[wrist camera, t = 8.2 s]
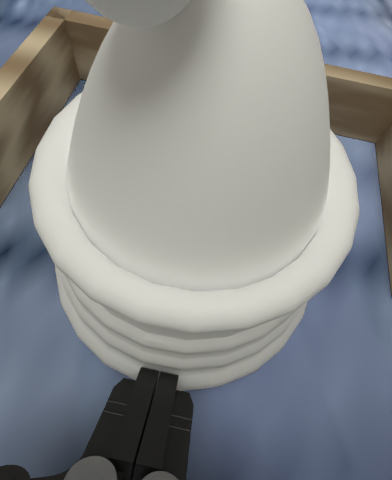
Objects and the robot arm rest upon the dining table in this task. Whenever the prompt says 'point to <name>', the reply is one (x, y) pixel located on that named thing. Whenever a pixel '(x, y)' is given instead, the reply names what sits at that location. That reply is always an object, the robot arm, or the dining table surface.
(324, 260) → the honey pot
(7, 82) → the oak bay
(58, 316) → the dining table surface
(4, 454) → the dining table surface
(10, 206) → the dining table surface
